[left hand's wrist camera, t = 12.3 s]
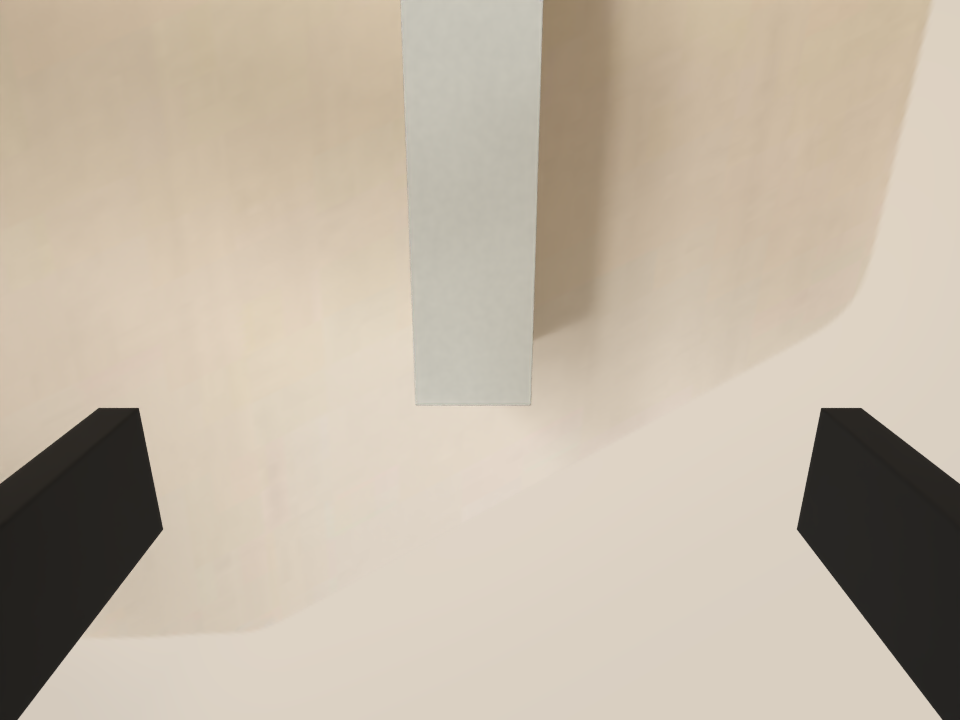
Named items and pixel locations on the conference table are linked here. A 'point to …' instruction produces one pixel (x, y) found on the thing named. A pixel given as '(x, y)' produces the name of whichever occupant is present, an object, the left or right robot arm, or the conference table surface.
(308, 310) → the conference table surface
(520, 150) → the bar
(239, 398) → the conference table surface
